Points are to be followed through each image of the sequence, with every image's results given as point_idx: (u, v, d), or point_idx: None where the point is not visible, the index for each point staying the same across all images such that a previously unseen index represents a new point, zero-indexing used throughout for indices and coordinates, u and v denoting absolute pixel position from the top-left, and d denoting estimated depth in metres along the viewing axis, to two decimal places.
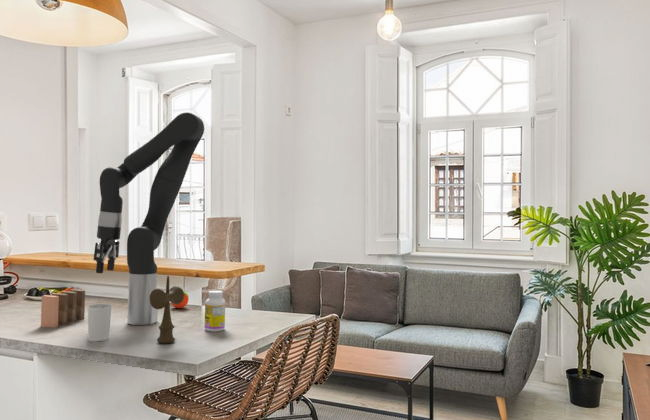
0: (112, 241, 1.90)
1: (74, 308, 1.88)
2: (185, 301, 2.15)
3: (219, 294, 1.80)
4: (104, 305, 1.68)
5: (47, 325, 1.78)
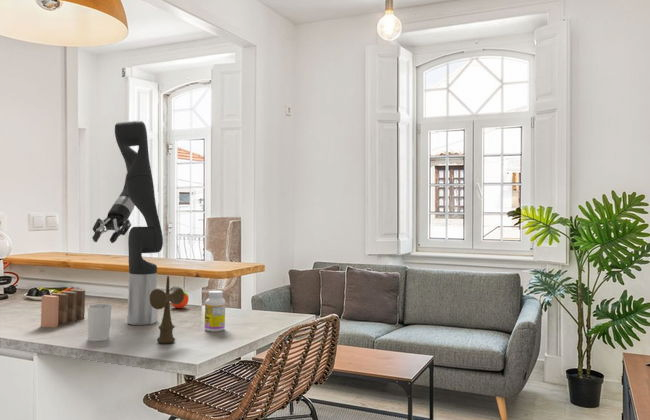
0: (116, 218, 2.13)
1: (74, 308, 1.87)
2: (185, 301, 2.15)
3: (219, 294, 1.80)
4: (104, 305, 1.68)
5: (47, 325, 1.78)
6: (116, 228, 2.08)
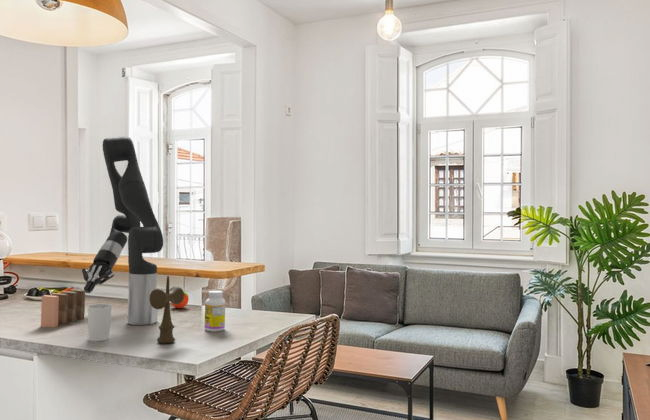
0: (102, 264, 2.05)
1: (74, 308, 1.87)
2: (185, 301, 2.15)
3: (219, 294, 1.80)
4: (104, 305, 1.68)
5: (47, 325, 1.78)
6: (95, 277, 2.01)
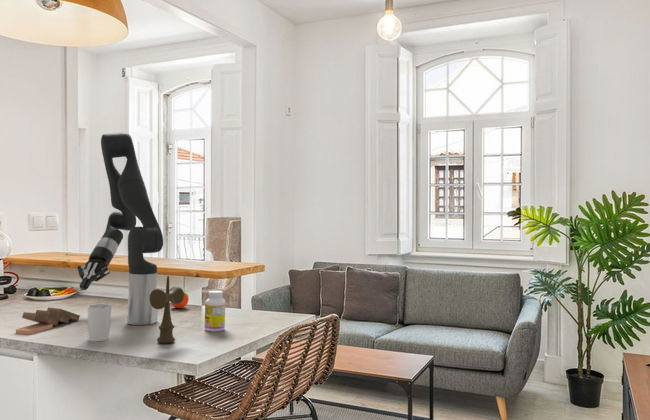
0: (98, 261, 2.02)
1: (59, 317, 1.81)
2: (185, 301, 2.15)
3: (219, 294, 1.80)
4: (104, 305, 1.68)
5: None
6: (90, 274, 1.98)
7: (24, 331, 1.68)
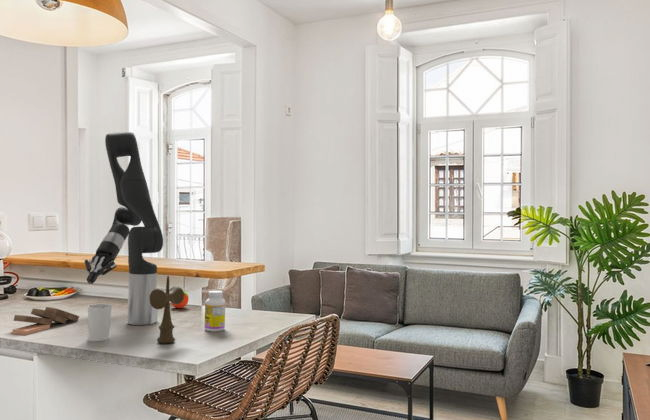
0: (105, 256, 2.06)
1: (55, 317, 1.80)
2: (185, 301, 2.15)
3: (219, 294, 1.80)
4: (104, 305, 1.68)
5: None
6: (97, 268, 2.02)
7: (20, 331, 1.68)
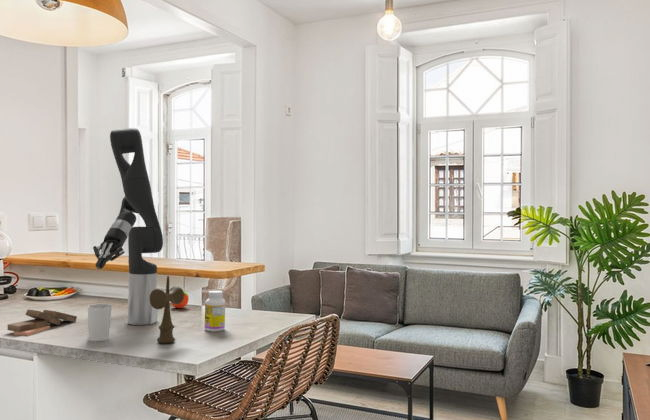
0: (113, 242, 2.10)
1: (50, 319, 1.78)
2: (185, 301, 2.15)
3: (219, 294, 1.80)
4: (104, 305, 1.68)
5: None
6: (106, 254, 2.06)
7: (22, 333, 1.67)
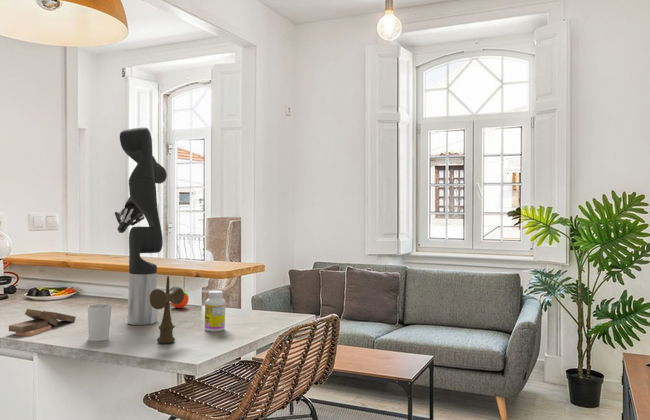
0: (134, 208, 2.21)
1: (49, 319, 1.76)
2: (185, 301, 2.15)
3: (219, 294, 1.80)
4: (104, 305, 1.69)
5: None
6: (127, 219, 2.16)
7: (25, 333, 1.66)
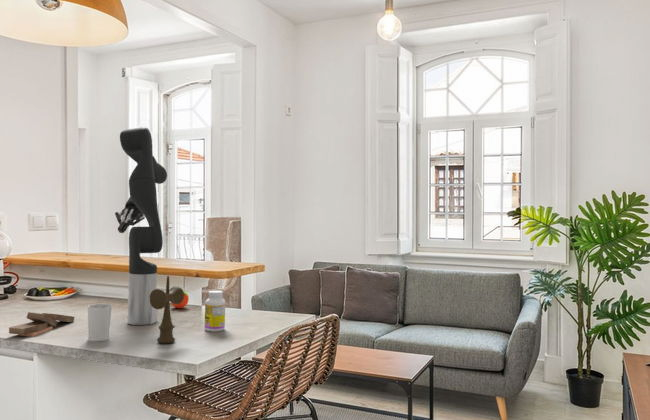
0: (134, 208, 2.21)
1: (50, 321, 1.75)
2: (185, 301, 2.15)
3: (219, 294, 1.80)
4: (104, 305, 1.69)
5: None
6: (127, 219, 2.16)
7: (27, 334, 1.66)
